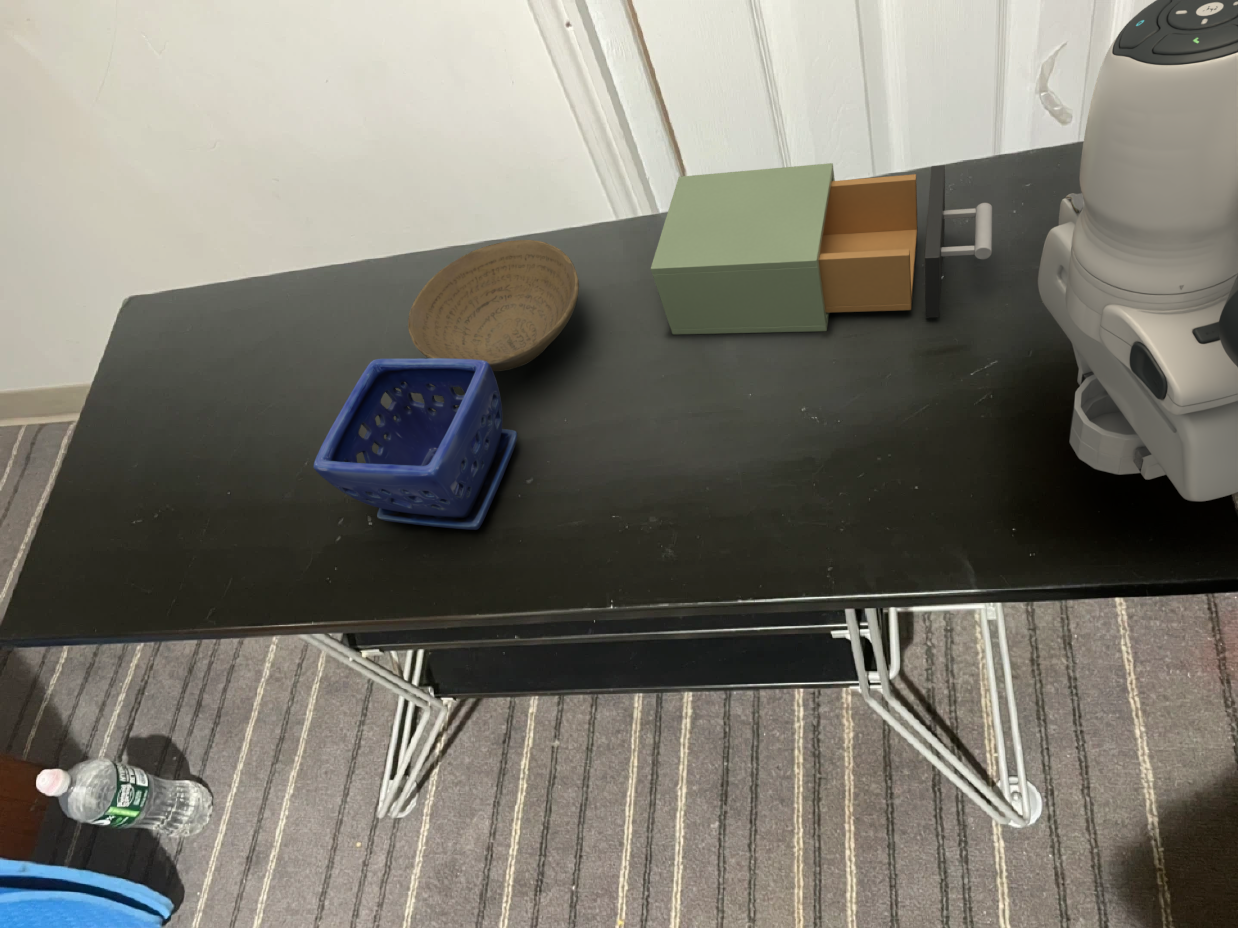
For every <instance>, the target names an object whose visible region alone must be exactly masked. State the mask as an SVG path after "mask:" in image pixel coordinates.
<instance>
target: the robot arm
mask: <svg viewBox="0 0 1238 928" xmlns="http://www.w3.org/2000/svg"><path fill="white" fill-rule="evenodd" d="M1100 65H1101V66H1100V68H1099V71H1098V73H1097V78H1096V81H1095V84H1094V89H1093V92H1092V96H1091V100H1090V103H1089V109H1088V114H1087V120H1086V124H1085V130H1084V137H1083V143H1082V150H1081V157H1080V166H1079V177H1078V179H1079V188H1080V193H1075V192H1074V193H1069V194H1068V195H1066V196H1065V198H1063V199H1061V201H1060V205H1059V213H1058V225H1057V226H1053V227H1052V228H1051V229H1050V230H1049V231H1048V233H1047V235H1046V238H1045V240H1044V244H1043V247H1042V253H1041V256H1040V263H1039V267H1038V275H1037V289H1038V293H1039V297H1040V299H1041V302H1042V304H1043V305H1044V306H1045V308H1046V309H1047V311H1048V312H1049V313H1050V314H1051V316H1052V318H1053V319H1054V320H1055V322H1056V324H1057V325H1058V326H1059V327H1060V328H1061V330H1062V331H1063V333H1064V334H1065V335H1066V337H1067V339H1068V340H1069V341H1070V343H1071V345H1072V350H1073V353H1074V357H1075V360H1076V361H1075V362H1076V364H1077V368H1078V371H1077V382H1076V383H1078V385H1079V386H1080V385H1081V384H1082V383H1083V382H1084V380H1085V379H1086V378H1087V377H1089V376H1092V375H1095V376H1096V377H1097V379H1098V380H1099V382H1100V383H1101V384H1102V386H1103V387H1104V388H1105V390H1106V391H1107V393H1108V394H1109V395H1110V397H1111V398H1112V400H1113V401H1114V402H1115V404H1116V405H1117V407H1118V408H1119V409H1120V411H1121V412H1122V414H1123V415H1124V416H1125V418H1126V419H1127V421H1128V422H1129V423H1130V425H1131V426H1132V428H1133V429H1134V430H1135V432H1136V433H1137V434H1138V436H1139V437H1140V439H1141V440H1142V441H1143V443H1144V444H1145V447H1141V448H1138V449H1136V451H1135V459H1134V460H1133V462H1134V463H1135V465H1136V466H1137V468H1138V469H1139V471H1140V472H1141V473H1140V475H1141V476H1142V477H1143V479H1145V480H1147V481H1148V480H1153V479H1156V478H1160V477H1162V476H1163V477H1164V476H1167V478H1168V479H1169V480H1170V482H1171V484H1172V485H1173V486H1174V488H1175V489H1176V490H1177V492H1178V494H1179V495H1180V496H1181V497H1182V498H1183V499H1184V500H1187V501H1189V502H1206V501H1212V500H1216V499H1220V498H1223V497H1227V496H1230V495H1233V494H1237V493H1238V0H1155V1H1153V2H1151V3H1150V4H1148V5H1146V7H1144V8H1143V9H1142V10H1141V11H1139V12H1138V13H1137V14H1136V15H1134V16H1133V17H1132V18H1131V19H1130V20H1129V21H1128V22H1127V23H1126V24H1125V25H1124V26H1123V28H1122V29H1121V30H1120V32H1119V33H1118V34H1117V36H1116V37H1115V39H1114V40H1113V41H1112V43H1111V44H1110V46H1109V48H1108V49H1107V52H1106V53H1105V55H1104V58H1103V60H1102V63H1101V64H1100Z"/></svg>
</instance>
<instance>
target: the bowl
mask: <svg viewBox="0 0 1238 928" xmlns="http://www.w3.org/2000/svg"><path fill="white" fill-rule="evenodd" d="M579 291H580V281H579V276H578V273H577V270H576V267H575V264H574V263H573V261H572V259H570V257H569V256H568V255H567V253H565V252H563V250H562V249H560V248H558V247H557V246H554V245H552V244H549V243H548V242H544V241H541V240H533V239H517V240H516V239H515V240H507V241H502V242H497V243H493V244H489V245H486V246H483V247H480V248H477V249H475V250H472V251H470V252H468V253H467V254H464V255H462V256H461V257H459V258H457V259H456V260H454V261H452V262H450V263H449V264H447V265H446V266H444V267H443V268H442V269H440V270H439V271H438V272H437V273H435V274H434V275H433V276H432V278H430V279H429V280H428V281H427V282H426V284H425V285H424V286H423V287H422V289H420V291H419V292H418V294H417V296H416V297H415V299H414V301H413V303H412V305H411V308H410V310H409V312H408V319H407V322H408V323H407V330H408V333H409V336H410V338H411V341H412V343H413V345H414V347H415V348H416V349H417V350H418V351H419V352H420V353H421V354H422V355H423V356H424V357H426V359H427V358H447V359H475V360H484V361H487V362H488V363H489V365H490V366H491V368H492V371H493V372H501V371H509V370H513V369H516V368H519V367H521V366H524V365H526V364H528V363H531V362H532V361H534V360H535V359H536V358H537V357H538V356H540V355H541V354H542V353H543V352H544V351H545V350H546V349H547V348H548V347H549V345H551V343H553V341H555V339H556V338H557V337H558V336H559V335H560V333H561V332H563V330H564V328H566V326H567V324H568V322H569V321H570V319H571V318H572V315H573V313H574V310H575V308H576V306H577V302H578V298H579Z"/></svg>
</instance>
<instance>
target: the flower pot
mask: <svg viewBox="0 0 1238 928" xmlns="http://www.w3.org/2000/svg"><path fill="white" fill-rule="evenodd" d="M454 388H460V389H461V390H462V391H463V393H464V394H461V395H459V394H457V393H456V391H455V389H454ZM384 394H387V396H388V397H389V399H390V401H391V403H390V404H389V406H388V407H387V408H386V407H385V406H384V405H383V404H382V398H383V396H385V395H384ZM412 394H418V395H419V394H420V395H421V397H422V400H423V402H421V401H416V400H414V399H413V396H412ZM436 396H437V397H442V399H443V401H438V400H436V398H435V397H436ZM377 417H378V418H379V421H380V422H379V424H377V420H376V418H377ZM362 426H363V428H364V429H365V430H366V432H365V434H364V436H363V437H362V436H361V434H360V430H361V427H362ZM517 441H518V432H517V430H514V429H507V428H506V429H505V428H503V405H502V399H501V394H500V389H499V386H498V382H497V379H496V377H495V374H494V371H492V368H491V366H490V365H489V363H488V362H487V361H484V360H475V359H447V358H427V357H426V358H376V359H373V360H371V361H370V362H369V363H368V365H366V367H365V370H364V371H363V372H362V374H361V375H360V377H359V378H358V380H357V382H356V384H355V385H354V387H353V389H352V391H351V392H350V393H349V396H348V397H347V399H346V401H345V403H344V404H343V406H342V408H341V409H340V411H339V412H338V415H337V416H336V418H335V420H334V422H333V424H332V425H331V427H330V429H329V431H328V433H327V434H326V437H325V438H324V440H323V442H322V444H321V446H320V448H319V450H318V452H317V454H316V457H315V459H314V462H313V469H314V470H315V472H317V474H318V475H319V476H320V477H322V479H324V480H325V481H327V482H328V483H329V484H331V486H333V487H334V488H336V489H337V490H339V491H340V492H341V493H344V494H345V495H347V496H348V497H351V498H352V499H355V500H356V501H359V502H361V503H363V504H366V505H369V506H371V507H374V508H378V510H377V514H376V516H377V519H378V520H381V521H386V522H392V523H400V524H409V525H417V526H426V527H433V528H434V527H436V528H447V529H457V530H470V531H471V530H475V531H476V530H479V529H480V528H481V527H482V524H483V523H484V521H485V518H486V516H487V514H488V512H489V509H490V507H491V505H492V503H493V501H494V498H495V496H496V494H497V492H498V490H499V486H500V484H501V482H502V480H503V477H504V475H505V473H506V470H507V467H508V464H509V462H510V459H511V458H512V455H513V453H514V449H515V447H516V444H517ZM374 444H375V445H376V446H377V447H378V449H377V453H376V452H375V451H374V450H373V446H374ZM360 453H361V454H362V455H363V458H364V461H365V463H364V462H358V457H357V456H358V455H359V454H360Z"/></svg>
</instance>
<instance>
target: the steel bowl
mask: <svg viewBox="0 0 1238 928" xmlns="http://www.w3.org/2000/svg"><path fill="white" fill-rule="evenodd" d="M1069 428H1070V429H1069V441H1068V442H1069V444H1070V446H1071V448H1072V450H1073V451H1074V452H1075V455H1076V456H1077V458H1078V459H1079V460H1080V461H1082V462H1084V463H1085V464H1086V465H1088V466H1090V467H1091V468H1092V469H1094V470H1096V471H1101V472H1105V473H1109V474H1113V475H1119V476H1120V475H1133V474H1141V472H1140V471H1139V469H1138V468H1137V466H1136V465H1135V463H1134V462H1133V460H1134V459H1135V451H1136V449H1138V448H1141V447H1145V444H1144V443H1143V441H1142V440H1141V439H1140V437H1139V436H1138V434H1137V433H1136V432H1135V430H1134V429H1133V428H1132V426H1131V425H1130V423H1129V422H1128V421H1127V419H1126V418H1125V416H1124V415H1123V414H1122V412H1121V411H1120V409H1119V408H1118V407H1117V405H1116V404H1115V402H1114V401H1113V400H1112V398H1111V397H1110V395H1109V394H1108V393H1107V391H1106V390H1105V388H1104V387H1103V386H1102V384H1101V383H1100V382H1099V380H1098V379H1097V377H1096V376H1095V375H1092V376H1089V377H1087V378H1086V379H1085V380H1084V382H1083V383H1082V384H1081V385H1079V387H1078V388H1077V389H1076V390H1075V392H1074V399H1073V406H1072V413H1071V419H1070V427H1069Z"/></svg>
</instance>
